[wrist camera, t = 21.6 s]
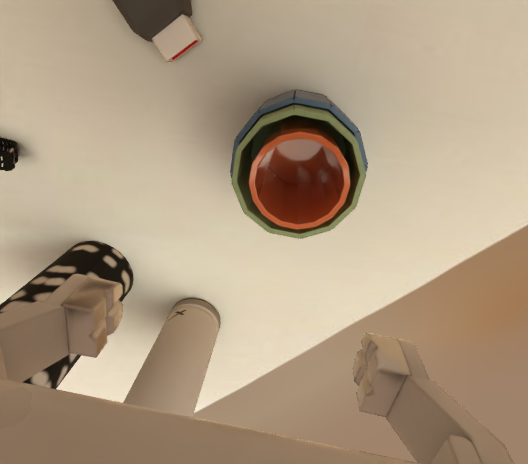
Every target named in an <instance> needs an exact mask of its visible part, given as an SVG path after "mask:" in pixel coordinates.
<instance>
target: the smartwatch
mask: <svg viewBox="0 0 528 464" xmlns="http://www.w3.org/2000/svg"><path fill="white" fill-rule="evenodd" d="M2 142H3V143H4V145H3V144H2ZM6 142H7V144H8V146H7V144H6ZM10 143H11V146H10ZM3 147H4V151H3ZM7 148H8V151H7ZM1 156H2V157H3V160H1ZM17 162H18V149H17V144H16V142H14V141H12V140H8V139H3V138H0V170H5V171H10V170H12V169H14V168H15V164H16V163H17ZM2 163H3V167H1V165H2Z"/></svg>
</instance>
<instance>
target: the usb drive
mask: <svg viewBox="0 0 528 464" xmlns="http://www.w3.org/2000/svg"><path fill="white" fill-rule="evenodd" d="M113 2H114V3H115V5H116V6H117V8H118V9H119V11H120V12H121V14H122V15H123V17H124V18H125V20H126V21H127V23H128V24H129V26H130V27H131V29H132V30H133V31H134V32H135V33H136V34H138V35H139V36H141V37H142V38H144V39H145V40H147V41H152V42H154V44H155V45H156V47H157V48H158V50H159V51H160V53H161V54H162V56H163V58H164V59H165V61H166V62H173V61H175V60H176V59H177V58H179V57H180V56H181V55H183V54H184V53H185V52H187V51H188V50H189V49H191V48H192V47H193V46H195V45H196V44H197V43H199V42H200V41H201V40H202V38H201V37H200V35H199V33H198V32H197V30H196V28H195V27H194V25H193V23H192V22H191V20H190V18H189V17H190V16H191V15H192V8H191V1H190V0H113Z"/></svg>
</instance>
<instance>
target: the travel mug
mask: <svg viewBox="0 0 528 464" xmlns="http://www.w3.org/2000/svg"><path fill="white" fill-rule="evenodd" d="M219 328H220V317H219V314H218V312H217V311H216V310H215V308H214V307H213V306H211V305H210V304H208V303H207V302H205V301H202V300H199V299H186V300H182V301H180V302H178V303H177V304H176V305H175V306H174V307H173V309H172V311H171V312H170V314H169V317H168V318H167V320H166V322H165V324H164V326H163V328H162V330H161V332H160V334H159V335H158V337H157V339H156V341H155V343H154V345H153V347H152V349H151V351H150V353H149V355H148V357H147V358H146V360H145V362H144V364H143V366H142V368H141V370H140V372H139V374H138V376H137V378H136V380H135V381H134V383H133V385H132V387H131V389H130V391H129V393H128V395H127V397H126V399H125V401H124V402H123V403H125V404H130V405H135V406H140V407H145V408H150V409H155V410H160V411H165V412H170V413H175V414H179V415H184V416H189V417H193V413H194V410H195V407H196V404H197V400H198V397H199V394H200V390H201V387H202V384H203V381H204V377H205V374H206V371H207V367H208V364H209V361H210V358H211V354H212V351H213V348H214V344H215V341H216V338H217V334H218V331H219Z"/></svg>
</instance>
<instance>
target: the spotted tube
mask: <svg viewBox="0 0 528 464" xmlns="http://www.w3.org/2000/svg"><path fill="white" fill-rule="evenodd" d="M73 274H81V275H86V276H90V277H95V278H100V279H104V280H109V281H113V282H118V283H121V285H122V289H123V294H122V295H121V297H120V298H119V300H120V301H121V302H122V300H123V299H124V298H125V296H126V295H127V294H128V292H129V291H130V289H131V287H132V284H133V273H132V269H131V267H130V265H129V263H128V262H127V260H126V259H125V258H124V256H122V255H121V254H120V253H119V252H118V251H117V250H115V249H114V248H112V247H110V246H108V245H106V244H103V243H100V242H95V241H85V242H81V243H78V244H76V245H74V246H73V247H72V248H71V249H69V250H68V251H67V252H66V253H64V254H63V255H62V256H61V257H59V258H58V259H57V260H56V261H54V262H53V263H52V264H51V265H49V266H48V267H47V268H46V269H45V270H43V271H42V272H41V273H40V274H38V275H37V276H36V277H35V278H33V279H32V280H31V281H30V282H28V283H27V284H26V285H25V286H23V287H22V288H21V289H20V290H18V291H17V292H16V293H15V294H13V295H12V296H11V297H10V298H8V299H7V300H6V301H5V302H3V303H2V304H1V305H0V314H1V313H4V312H7V311H10V310H13V309H16V308H19V307H22V306H25V305H28V304H31V303H34V302H37V301H40V302H43V301H44V300H45V299H46V298H47V297H49V296H50V295H51V294H52V293H53V292H54V291H55V290H56V289H57V288H58V287H60V286H61V285H62V284H63V283H64V282H65V281H66V280H67V279H68V278H69V277H71V276H72V275H73ZM80 356H81V355H78V354H72V353H69V355H67V356H65V357H64V358H62V359H60V360H59V361H57V362H55V363H54V364H52V365H50V366H49V367H47V368H45V369H44V370H42V371H40V372H38V373H37V374H35V375H33V376H32V377H30V378H28V379H27V380H25V381H23V382H22V383H27V384H32V385H37V386H42V387H47V388H52V389H56V388H57V387H58V385H59V384H60V383H61V382H62V380H63V379H64V378H65V376H66V375H67V374H68V372H69V371H70V370H71V368H72V367H73V366H74V364H75V363H76V362H77V360H78V359H79V358H80Z"/></svg>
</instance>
